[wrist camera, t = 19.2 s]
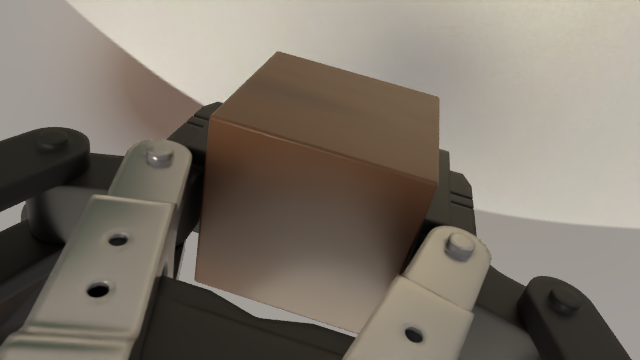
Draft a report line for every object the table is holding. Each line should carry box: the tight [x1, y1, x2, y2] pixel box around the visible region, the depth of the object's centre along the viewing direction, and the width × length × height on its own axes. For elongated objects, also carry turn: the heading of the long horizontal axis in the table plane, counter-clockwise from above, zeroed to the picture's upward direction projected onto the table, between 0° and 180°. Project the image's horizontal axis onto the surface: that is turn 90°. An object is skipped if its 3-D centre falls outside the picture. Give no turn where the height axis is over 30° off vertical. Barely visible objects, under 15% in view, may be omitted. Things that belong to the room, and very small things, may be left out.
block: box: [195, 52, 439, 334], centre depth 12 cm, size 4×4×4 cm
